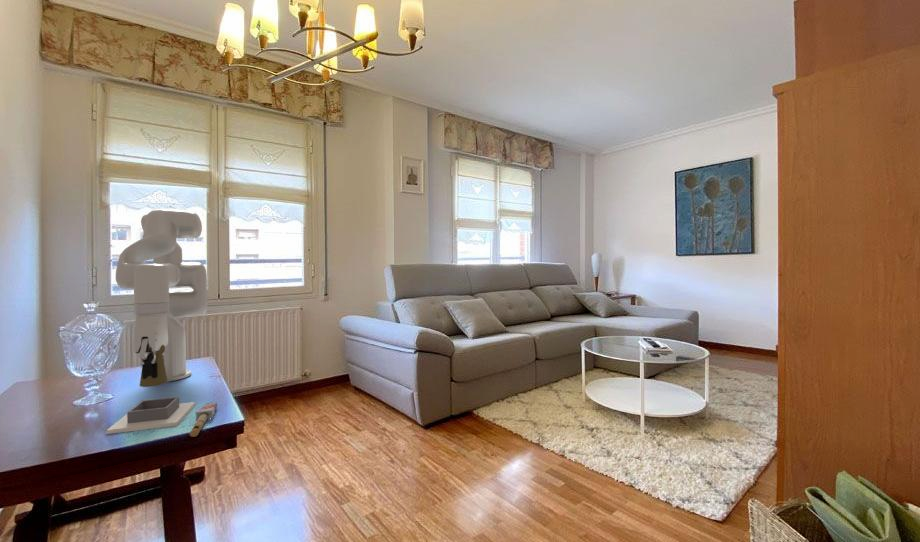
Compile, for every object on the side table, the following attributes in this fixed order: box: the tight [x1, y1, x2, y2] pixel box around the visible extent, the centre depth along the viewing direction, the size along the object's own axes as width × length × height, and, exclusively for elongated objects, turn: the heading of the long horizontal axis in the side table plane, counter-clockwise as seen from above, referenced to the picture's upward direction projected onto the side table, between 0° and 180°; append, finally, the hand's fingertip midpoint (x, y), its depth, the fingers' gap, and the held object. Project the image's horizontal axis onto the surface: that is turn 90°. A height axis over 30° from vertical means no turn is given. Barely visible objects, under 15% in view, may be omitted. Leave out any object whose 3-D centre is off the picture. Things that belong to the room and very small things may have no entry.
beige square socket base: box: [105, 396, 196, 435], centre depth 107 cm, size 15×15×4 cm
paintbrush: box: [189, 401, 219, 438], centre depth 105 cm, size 4×3×20 cm
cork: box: [139, 345, 168, 388], centre depth 106 cm, size 6×6×11 cm
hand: (153, 375), depth 106 cm, fingers closed on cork, 4 cm apart
